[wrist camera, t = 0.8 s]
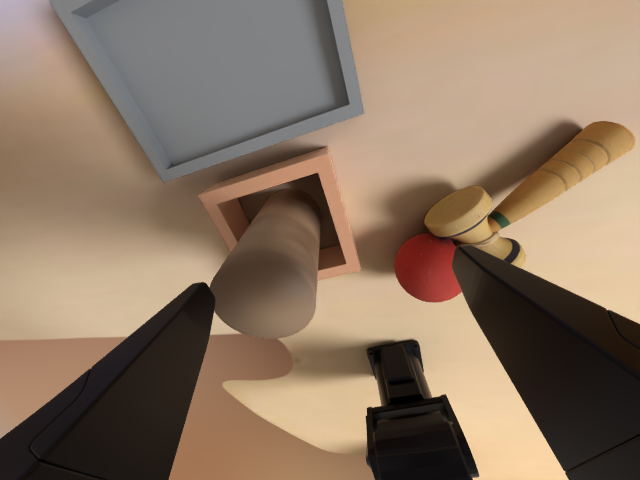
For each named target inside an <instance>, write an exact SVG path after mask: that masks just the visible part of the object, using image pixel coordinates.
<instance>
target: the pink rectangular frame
mask: <svg viewBox="0 0 640 480" xmlns="http://www.w3.org/2000/svg"><path fill="white" fill-rule="evenodd" d="M315 173H318V174H319V177H320V180H321V183H322V187H323V190H324V193H325V196H326V199H327V203H328V206H329V209H330V212H331V215H332V219H333V222H334V225H335V228H336V231H337V235H338V238H339V241H340V245H337V246H333V247H329V248H325V249H321V250H319V260H318V275H317V281H318V280H322V279H327V278H331V277H335V276H340V275H344V274H348V273H353V272H357V271H361V269H360V264H359V259H358V254H357V249H356V246H355V242H354V238H353V235H352V231H351V228H350V224H349V220H348V217H347V213H346V210H345V206H344V203H343V199H342V195H341V192H340V188H339V185H338V181H337V177H336V174H335V170H334V167H333V163H332V159H331V156H330V152H329V149H328V146H327V147H324V148H321V149H318V150H315V151H312V152H309V153H306V154H303V155H300V156H297V157H294V158H291V159H288V160H285V161H282V162H279V163H276V164H273V165H270V166H267V167H264V168H261V169H258V170H255V171H251V172H248V173H245V174H242V175H239V176H236V177H233V178H230V179H227V180H224V181H221V182H218V183H216V184H215V185H213V186H212V187H210V188H209V189H207V190H206V191H204V192H202V193H201V194H199V195H198V197H199V199H200V200H201V202H202V204H203V205H204V207H205V209H206V211H207V212H208V214H209V216H210V218H211V219H212V221H213V223H214V224H215V226H216V228H217V230H218V231H219V233H220V235H221V237H222V238H223V240H224V242H225V243H226V245H227V247H228V249H229V250H230V252H232V250H233V249H234V247H235V246H236V244H237V243H238V241H239V240H240V238H241V237H242V236H243V234H244V233H245V231H246V230H247V228H248V227H249V225H250V223H249V221H248V219H247V217H246V215H245V213H244V211H243V209H242V207H241V205H240V203H239V201H238V199H237V198H238V197H241V196H244V195H247V194H251V193H254V192H257V191H260V190H263V189H267V188H270V187H273V186H276V185H279V184H283V183H286V182H289V181H292V180H295V179H299V178H302V177H305V176H308V175H311V174H315Z"/></svg>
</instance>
